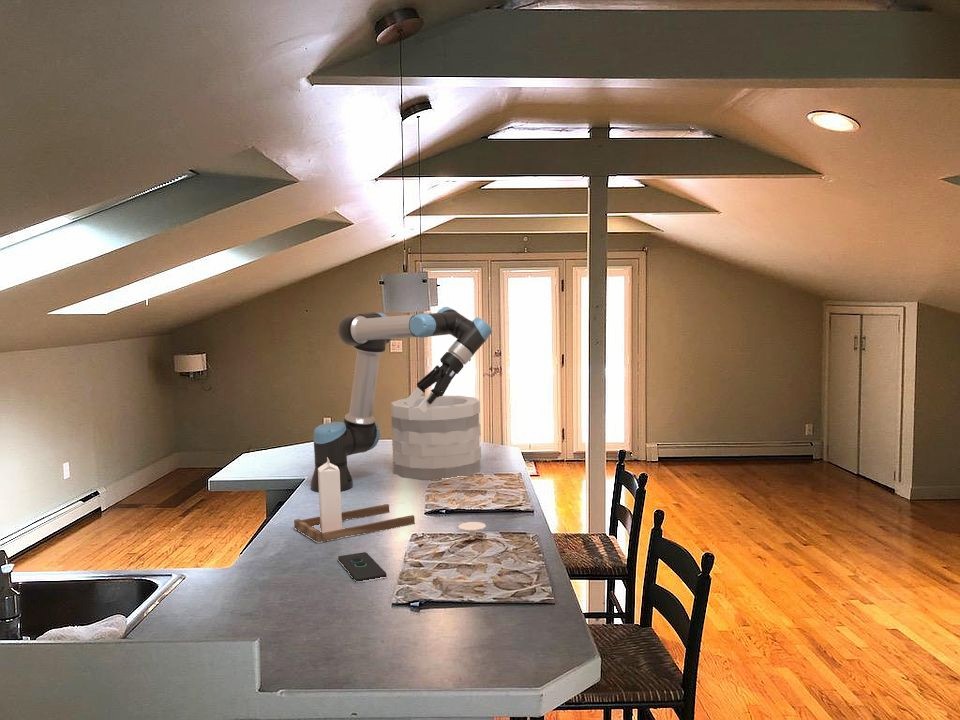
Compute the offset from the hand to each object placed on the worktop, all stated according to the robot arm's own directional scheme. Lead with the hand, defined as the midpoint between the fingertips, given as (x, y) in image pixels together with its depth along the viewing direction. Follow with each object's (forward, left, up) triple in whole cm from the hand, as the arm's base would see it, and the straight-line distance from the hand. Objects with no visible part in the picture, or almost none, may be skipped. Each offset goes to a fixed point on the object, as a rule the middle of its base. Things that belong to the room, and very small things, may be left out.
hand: (413, 407), depth 277 cm
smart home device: (+41, -40, -35) cm, 67 cm away
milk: (+5, -33, -34) cm, 47 cm away
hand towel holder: (+44, -6, -34) cm, 56 cm away
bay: (+5, -25, -34) cm, 42 cm away
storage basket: (-46, +35, -34) cm, 67 cm away
